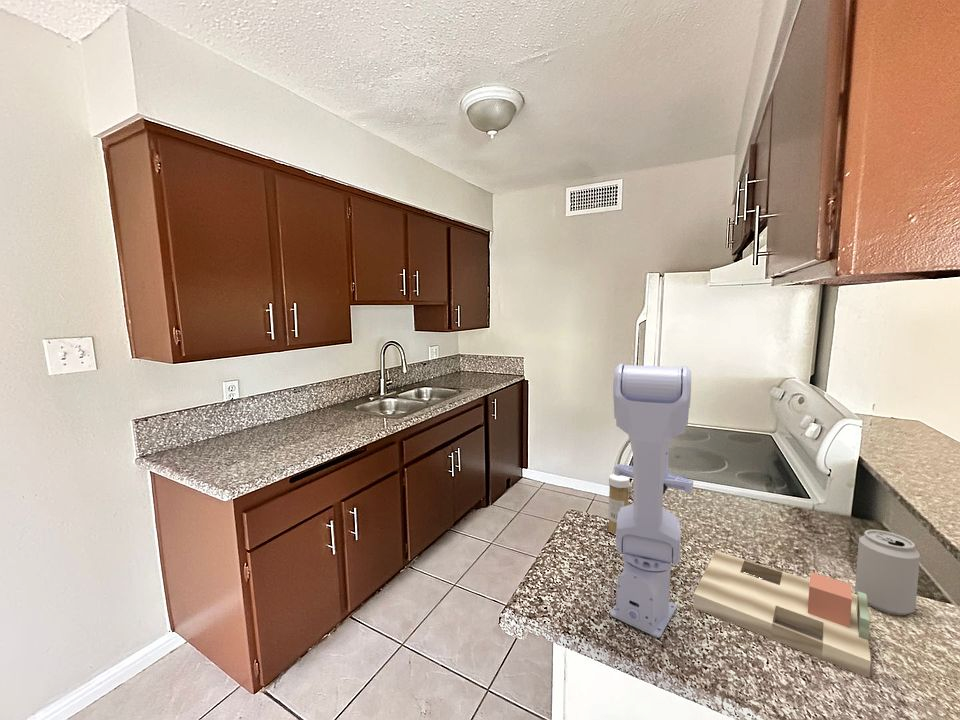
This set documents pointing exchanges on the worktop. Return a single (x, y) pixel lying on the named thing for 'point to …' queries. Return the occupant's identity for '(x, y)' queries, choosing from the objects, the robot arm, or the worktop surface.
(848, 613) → the block
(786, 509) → the worktop surface
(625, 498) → the sprinkles bottle
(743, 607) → the board
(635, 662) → the worktop surface
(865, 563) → the can
